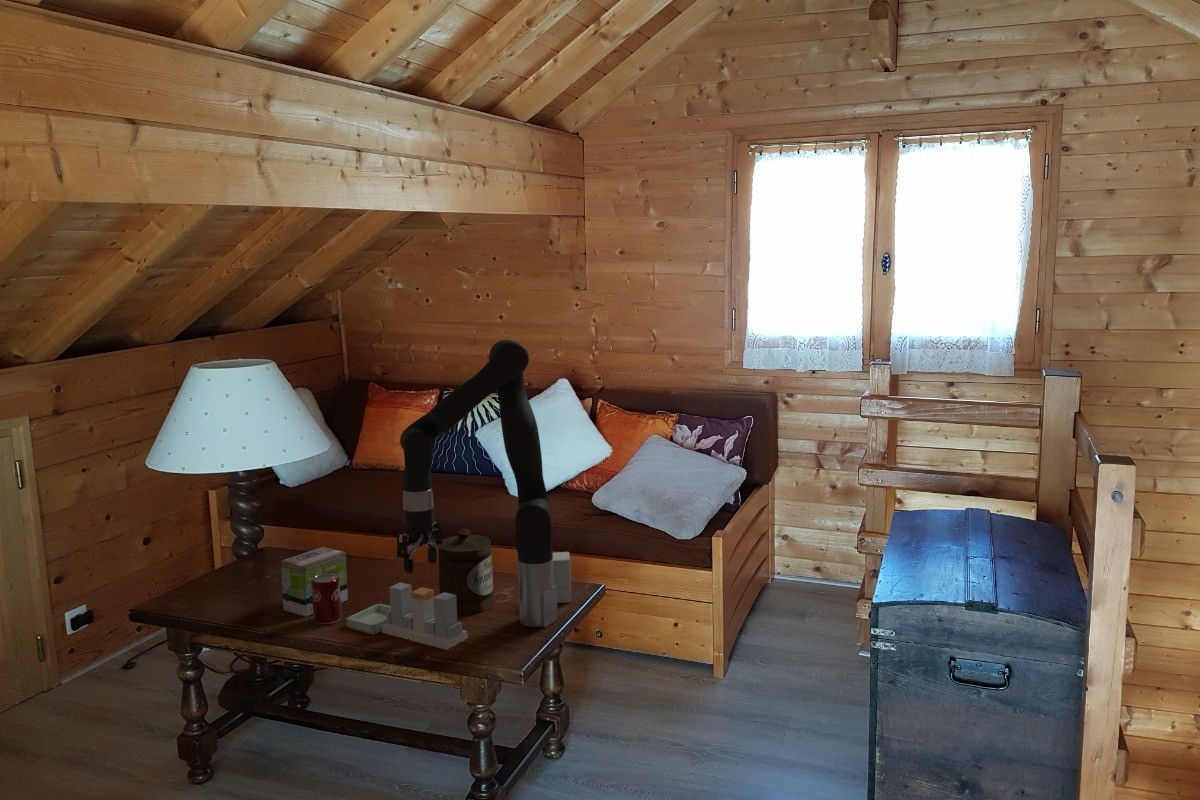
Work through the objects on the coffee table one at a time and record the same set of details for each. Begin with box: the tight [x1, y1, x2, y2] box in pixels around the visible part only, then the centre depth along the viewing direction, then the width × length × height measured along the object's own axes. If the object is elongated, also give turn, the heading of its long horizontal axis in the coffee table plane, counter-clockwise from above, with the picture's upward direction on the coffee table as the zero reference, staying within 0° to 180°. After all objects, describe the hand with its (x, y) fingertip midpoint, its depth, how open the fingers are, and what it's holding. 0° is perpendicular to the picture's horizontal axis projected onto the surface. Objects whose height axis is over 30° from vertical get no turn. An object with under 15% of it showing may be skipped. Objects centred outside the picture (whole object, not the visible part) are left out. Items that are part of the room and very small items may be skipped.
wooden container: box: [437, 528, 494, 615], centre depth 259 cm, size 15×15×22 cm
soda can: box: [311, 574, 343, 625], centre depth 251 cm, size 7×7×12 cm
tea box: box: [280, 546, 349, 618], centre depth 261 cm, size 15×10×15 cm
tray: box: [345, 603, 391, 635], centre depth 249 cm, size 10×12×2 cm
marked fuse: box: [411, 587, 435, 632], centre depth 239 cm, size 4×4×10 cm
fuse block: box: [381, 582, 469, 651], centre depth 239 cm, size 22×8×12 cm, turn 59°
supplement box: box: [553, 551, 572, 604], centre depth 263 cm, size 7×7×13 cm
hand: (421, 567), depth 238 cm, fingers open, 8 cm apart
